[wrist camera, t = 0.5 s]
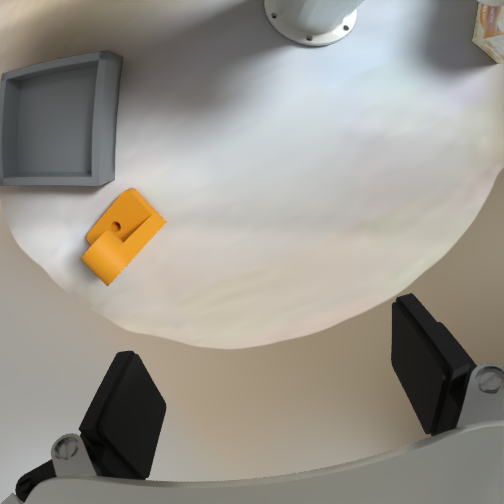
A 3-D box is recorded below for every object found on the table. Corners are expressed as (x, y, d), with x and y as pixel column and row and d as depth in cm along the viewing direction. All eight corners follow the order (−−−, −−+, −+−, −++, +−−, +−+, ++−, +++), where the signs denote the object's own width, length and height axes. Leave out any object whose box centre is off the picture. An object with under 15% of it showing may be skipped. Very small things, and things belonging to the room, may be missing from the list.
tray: (20, 75, 34) (2, 73, 29) (122, 57, 35) (108, 50, 30) (17, 179, 41) (-2, 185, 36) (114, 179, 41) (99, 186, 37)
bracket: (133, 184, 42) (95, 204, 31) (168, 220, 44) (140, 252, 33) (92, 232, 44) (51, 263, 33) (123, 264, 47) (91, 304, 35)
